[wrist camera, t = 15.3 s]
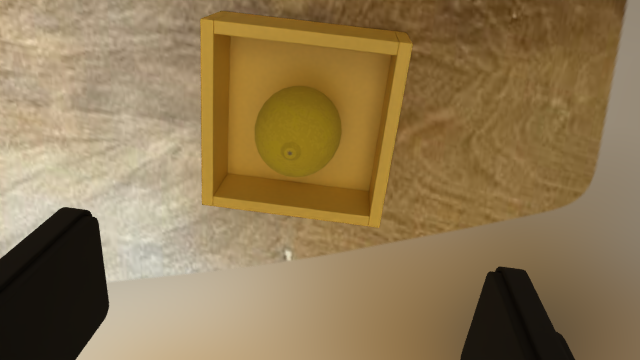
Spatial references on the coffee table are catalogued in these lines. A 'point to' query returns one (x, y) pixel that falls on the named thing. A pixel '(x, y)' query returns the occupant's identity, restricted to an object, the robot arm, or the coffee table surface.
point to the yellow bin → (300, 70)
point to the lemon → (297, 131)
